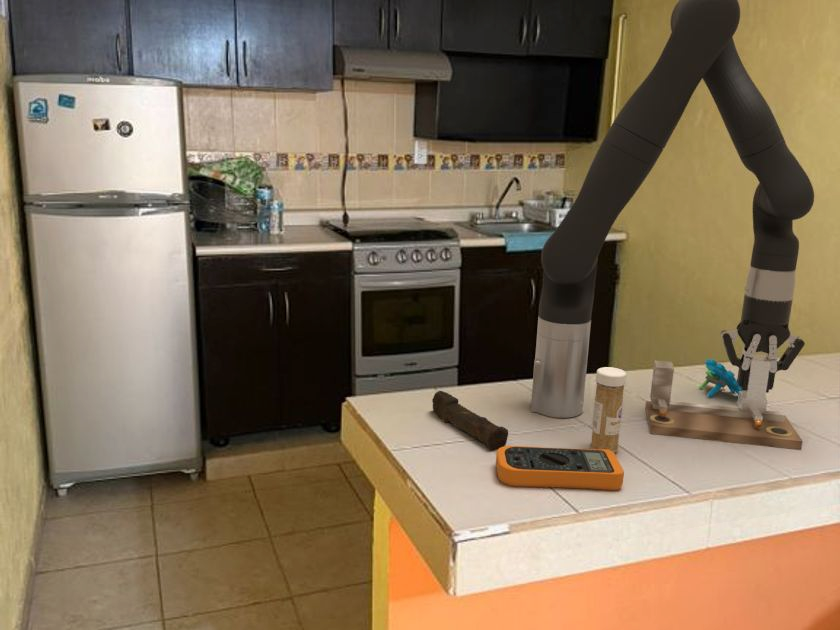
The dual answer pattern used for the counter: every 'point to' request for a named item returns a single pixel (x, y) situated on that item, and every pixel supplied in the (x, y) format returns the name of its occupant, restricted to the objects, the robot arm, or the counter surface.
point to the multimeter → (559, 467)
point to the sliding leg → (755, 389)
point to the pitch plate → (712, 418)
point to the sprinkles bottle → (608, 408)
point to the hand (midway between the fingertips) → (754, 389)
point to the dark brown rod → (469, 421)
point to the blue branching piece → (719, 378)
